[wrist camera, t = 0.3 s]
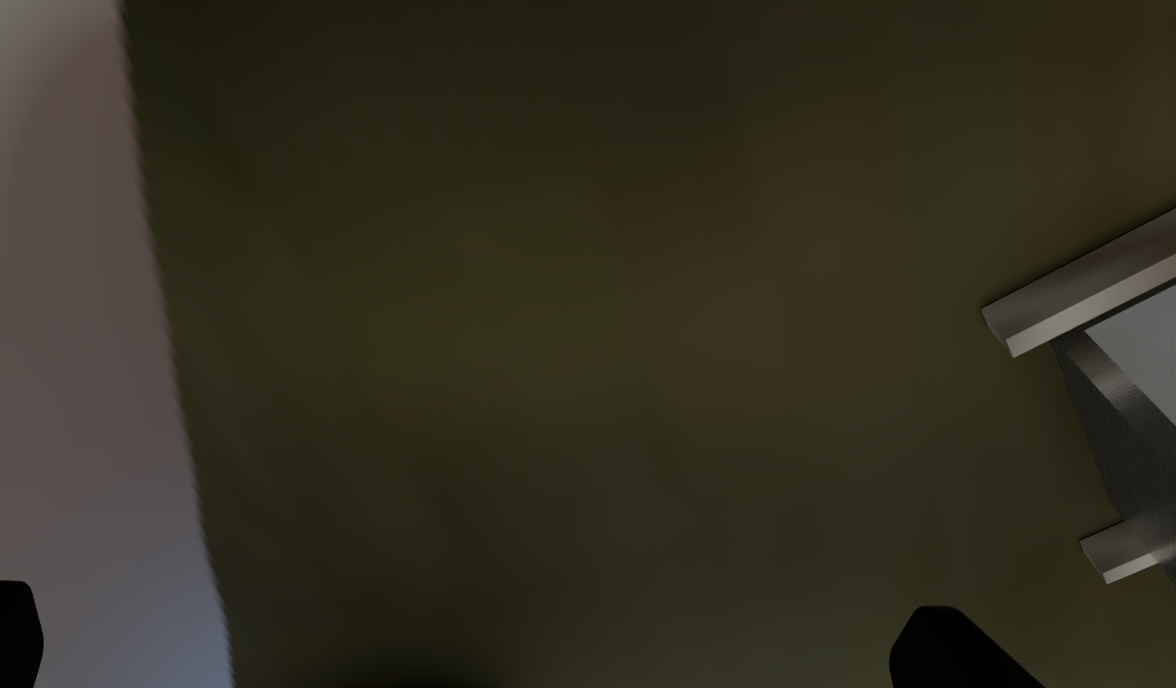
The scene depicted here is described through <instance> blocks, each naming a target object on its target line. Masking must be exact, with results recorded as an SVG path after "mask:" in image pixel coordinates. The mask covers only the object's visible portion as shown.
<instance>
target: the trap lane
mask: <svg viewBox="0 0 1176 688" xmlns="http://www.w3.org/2000/svg"><path fill="white" fill-rule="evenodd" d="M1174 277H1176V208H1175V209H1173V210H1171V211H1169V212H1167V213H1165V214H1163V215H1162V216H1160V217H1158V218H1156V219H1154V220H1152V221H1150V222H1148V223H1146V224H1144V225H1142V226H1140V227H1138V228H1137V229H1135V230H1133V231H1131V232H1129V233H1127V234H1125V235H1123V236H1121V237H1119V238H1117V239H1115V240H1113V241H1111V242H1110V243H1108V244H1106V245H1104V246H1102V247H1100V248H1098V249H1096V250H1094V251H1092V252H1090V253H1088V254H1086V255H1084V256H1083V257H1081V258H1079V259H1077V260H1075V261H1073V262H1071V263H1069V264H1067V265H1065V266H1063V267H1061V268H1059V269H1057V270H1056V271H1054V272H1052V273H1050V274H1048V275H1046V276H1044V277H1042V278H1040V279H1038V280H1036V281H1034V282H1032V283H1031V284H1029V285H1027V286H1025V287H1023V288H1021V289H1019V290H1017V291H1015V292H1013V293H1011V294H1009V295H1007V296H1005V297H1004V298H1002V299H1000V300H998V301H996V302H994V303H992V304H990V305H988V306H986V307H984V308H982V309H981V311H982V313H983V316H984V318H985V320H986V323H987V325H988V327H989V329H990V330H991V331H992V332H993V334H994V335H995V336H996V337H997V338H998V340H999V341H1000V342H1001V343H1002V345H1003V346H1004V347H1005V348H1006V349H1007V351H1008V352H1009V353H1010V354H1011V356H1012V357H1013V358H1014V357H1016V356H1018V355H1020V354H1022V353H1024V352H1026V351H1028V350H1030V349H1032V348H1034V347H1036V346H1038V345H1040V344H1042V343H1044V342H1046V341H1048V340H1050V339H1052V338H1054V337H1056V336H1058V335H1060V334H1062V333H1064V332H1066V331H1068V330H1070V329H1072V328H1074V327H1076V326H1078V325H1080V324H1082V323H1084V322H1086V321H1088V320H1090V319H1092V318H1094V317H1096V316H1098V315H1100V314H1102V313H1104V312H1106V311H1108V310H1110V309H1112V308H1114V307H1116V306H1118V305H1120V304H1122V303H1124V302H1126V301H1128V300H1130V299H1132V298H1134V297H1136V296H1138V295H1140V294H1142V293H1144V292H1146V291H1148V290H1150V289H1152V288H1154V287H1156V286H1158V285H1160V284H1162V283H1164V282H1166V281H1168V280H1170V279H1172V278H1174ZM1080 544H1081V546H1082V548H1083V551H1084V553H1085V554H1086V555H1087V557H1088V558H1089V560H1090V561H1091V562H1092V564H1093V565H1094V567H1095V568H1096V569H1097V571H1098V572H1099V574H1100V575H1101V576H1102V578H1103V579H1104V581H1105V582H1106V583H1107V584H1109V583H1111V582H1114V581H1116V580H1118V579H1121V578H1123V577H1126V576H1128V575H1130V574H1133V573H1135V572H1137V571H1140V570H1142V569H1144V568H1147V567H1149V566H1151V565H1154V564H1156V563H1157V562H1156V560H1155V559H1154V558H1153V557H1152V555H1151V554H1150V553H1149V552H1148V550H1147V549H1146V548H1145V546H1144V545H1143V544H1142V543H1141V541H1140V540H1139V539H1138V538H1137V536H1136V535H1135V534H1134V533H1133V531H1132V530H1131V529H1130V527H1129V526H1128V525H1127V524H1126V522H1125V521H1124V522H1122V523H1120V524H1117V525H1115V526H1113V527H1110V528H1108V529H1106V530H1104V531H1101V532H1099V533H1097V534H1095V535H1092V536H1090V537H1088V538H1085V539H1083V540H1081V541H1080Z"/></svg>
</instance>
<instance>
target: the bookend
mask: <svg viewBox="0 0 1176 688" xmlns="http://www.w3.org/2000/svg"><path fill="white" fill-rule="evenodd" d="M1050 342H1051V345H1052V348H1053V350H1054V353H1055V356H1056V358H1057V361H1058V364H1059V366H1060V369H1061V372H1062V374H1063V377H1064V380H1065V382H1066V385H1067V388H1068V390H1069V393H1070V396H1071V398H1072V401H1073V404H1074V406H1075V409H1076V412H1077V414H1078V417H1079V420H1080V422H1081V425H1082V428H1083V430H1084V433H1085V436H1086V438H1087V441H1088V444H1089V447H1090V449H1091V452H1092V455H1093V457H1094V460H1095V463H1096V465H1097V468H1098V471H1099V473H1100V476H1101V479H1102V481H1103V484H1104V487H1105V489H1106V492H1107V495H1108V497H1109V500H1110V503H1111V505H1112V506H1113V507H1114V508H1115V510H1116V511H1117V512H1118V513H1119V515H1120V516H1121V517H1122V519H1123V520H1124V521H1125V522H1126V524H1127V525H1128V526H1129V527H1130V529H1131V530H1132V531H1133V533H1134V534H1135V535H1136V536H1137V538H1138V539H1139V540H1140V541H1141V543H1142V544H1143V545H1144V546H1145V548H1146V549H1147V550H1148V552H1149V553H1150V554H1151V555H1152V557H1153V558H1154V559H1155V560H1156V562H1157V563H1158V564H1159V566H1160V567H1161V568H1162V569H1163V571H1164V572H1165V573H1166V574H1167V576H1168V577H1169V578H1170V579H1171V581H1172V582H1173V583H1174V585H1175V586H1176V277H1174V278H1172V279H1170V280H1168V281H1166V282H1164V283H1162V284H1160V285H1158V286H1156V287H1154V288H1152V289H1150V290H1148V291H1146V292H1144V293H1142V294H1140V295H1138V296H1136V297H1134V298H1132V299H1130V300H1128V301H1126V302H1124V303H1122V304H1120V305H1118V306H1116V307H1114V308H1112V309H1110V310H1108V311H1106V312H1104V313H1102V314H1100V315H1098V316H1096V317H1094V318H1092V319H1090V320H1088V321H1086V322H1084V323H1082V324H1080V325H1078V326H1076V327H1074V328H1072V329H1070V330H1068V331H1066V332H1064V333H1062V334H1060V335H1058V336H1056V337H1054V338H1052V339H1050Z"/></svg>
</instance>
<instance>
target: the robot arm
mask: <svg viewBox="0 0 1176 688" xmlns="http://www.w3.org/2000/svg"><path fill="white" fill-rule="evenodd" d="M43 639H44V638H43V632H42V628H41V624H40V621H39V617H38V613H37V609H36V605H35V601H34V598H33V594H32V591H31V588H30V587H29V585H27V584H26V583H25V582H22V581H7V580H0V688H33V687H34V683H35V680H36V677H37V673H38V670H39V667H40V663H41V659H42V654H43V646H44V640H43ZM889 668H890V674H891V679H892V683H893V688H1046V687H1044V686H1043V685H1042V684H1041V683H1040V682H1039V681H1038V680H1037V679H1036V678H1034V677H1033V676H1032V675H1031V674H1030V673H1029V672H1028V671H1027V670H1026V669H1025V668H1023V667H1022V666H1021V665H1020V664H1019V663H1018V662H1017V661H1016V660H1015V659H1013V658H1012V657H1011V656H1010V655H1009V654H1008V653H1007V652H1006V651H1005V650H1004V649H1002V648H1001V647H1000V646H999V645H998V644H997V643H996V642H995V641H994V640H992V639H991V638H990V637H989V636H988V635H987V634H986V633H985V632H984V631H983V630H981V629H980V628H979V627H978V626H977V625H976V624H975V623H974V622H973V621H971V620H970V619H969V618H968V617H967V616H966V615H965V614H964V613H962V612H961V611H960V610H958V609H956V608H954V607H949V606H921V607H919V608H917V609H916V610H915V611H914V613H913V614H912V616H911V617H910V619H909V621H908V622H907V624H906V625H905V627H904V629H903V630H902V632H901V634H900V635H899V637H898V638H897V640H896V642H895V643H894V645H893V647H892V649H891V652H890V658H889Z"/></svg>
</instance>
